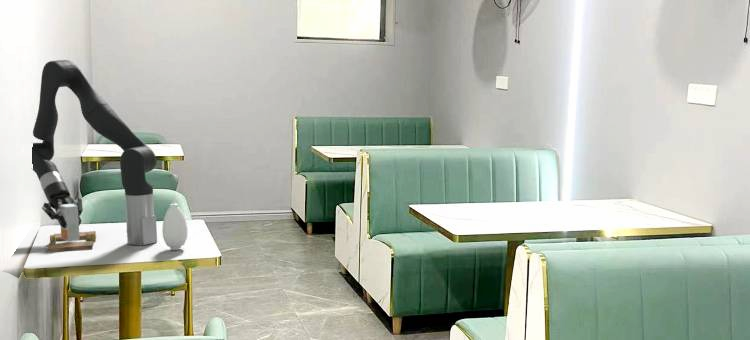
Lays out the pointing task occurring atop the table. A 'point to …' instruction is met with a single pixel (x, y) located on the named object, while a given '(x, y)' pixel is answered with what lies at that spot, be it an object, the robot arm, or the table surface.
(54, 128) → the robot arm
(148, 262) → the table surface
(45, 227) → the table surface
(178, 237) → the white vase
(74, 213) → the skincare box
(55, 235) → the brown wooden frame
